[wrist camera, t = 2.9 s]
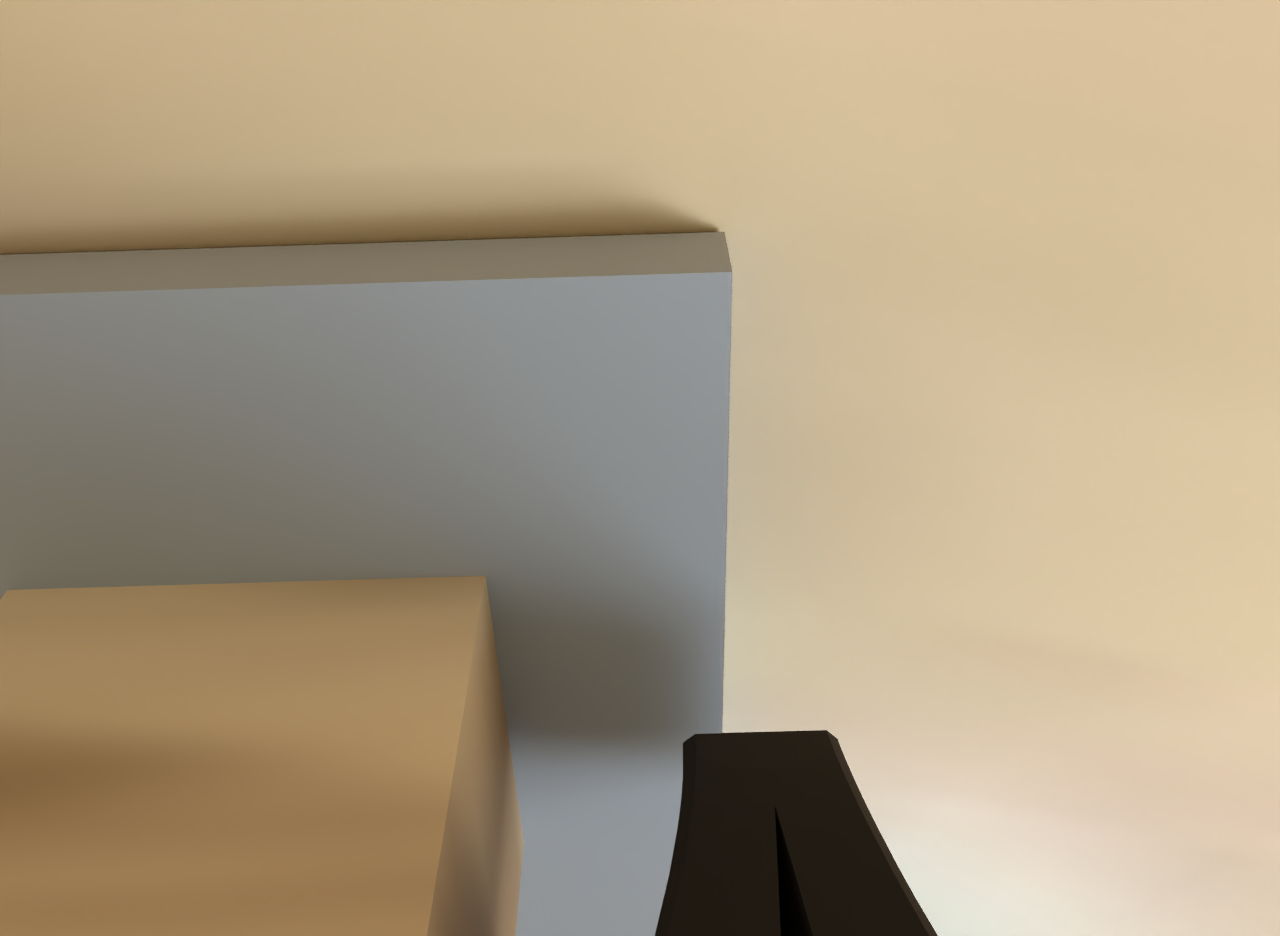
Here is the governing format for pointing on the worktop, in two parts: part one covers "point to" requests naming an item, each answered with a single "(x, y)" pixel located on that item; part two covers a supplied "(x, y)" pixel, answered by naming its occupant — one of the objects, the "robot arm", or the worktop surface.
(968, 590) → the worktop surface
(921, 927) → the robot arm
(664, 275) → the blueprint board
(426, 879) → the maple block
